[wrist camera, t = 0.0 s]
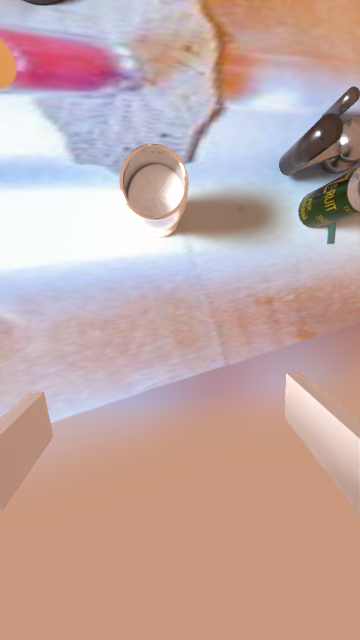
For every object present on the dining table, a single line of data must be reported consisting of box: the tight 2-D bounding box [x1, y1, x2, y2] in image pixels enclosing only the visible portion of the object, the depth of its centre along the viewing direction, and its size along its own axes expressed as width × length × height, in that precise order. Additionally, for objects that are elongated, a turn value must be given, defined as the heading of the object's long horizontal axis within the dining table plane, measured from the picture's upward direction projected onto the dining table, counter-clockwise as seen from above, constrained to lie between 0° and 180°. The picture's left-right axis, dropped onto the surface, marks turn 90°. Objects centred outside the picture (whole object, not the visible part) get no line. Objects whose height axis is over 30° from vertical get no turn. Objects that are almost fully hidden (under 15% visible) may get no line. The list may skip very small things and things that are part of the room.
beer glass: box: [119, 144, 188, 237], centre depth 29 cm, size 7×7×15 cm
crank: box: [279, 113, 360, 176], centre depth 29 cm, size 16×5×9 cm, turn 108°
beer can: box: [298, 167, 360, 228], centre depth 32 cm, size 5×5×12 cm
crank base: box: [321, 87, 360, 244], centre depth 34 cm, size 19×6×5 cm, turn 3°
